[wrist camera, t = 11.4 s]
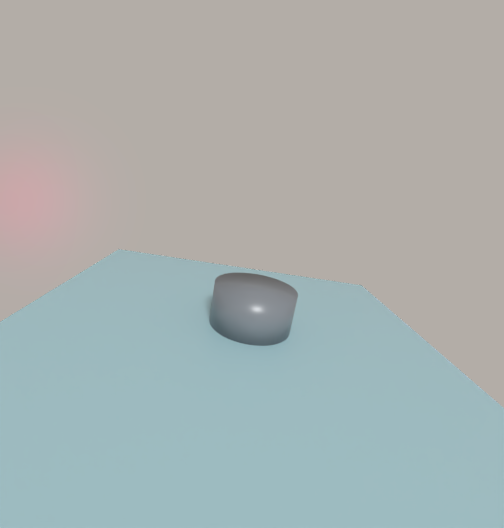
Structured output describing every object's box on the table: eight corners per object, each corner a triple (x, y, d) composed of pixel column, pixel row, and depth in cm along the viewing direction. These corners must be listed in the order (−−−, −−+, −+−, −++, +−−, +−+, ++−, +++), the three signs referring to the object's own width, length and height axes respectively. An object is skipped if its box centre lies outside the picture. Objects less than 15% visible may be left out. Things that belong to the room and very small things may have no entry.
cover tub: (-153, 933, 6) (-377, 421, 3) (108, 425, 17) (120, 223, 14) (455, 906, 7) (767, 520, 4) (317, 446, 18) (368, 262, 15)
